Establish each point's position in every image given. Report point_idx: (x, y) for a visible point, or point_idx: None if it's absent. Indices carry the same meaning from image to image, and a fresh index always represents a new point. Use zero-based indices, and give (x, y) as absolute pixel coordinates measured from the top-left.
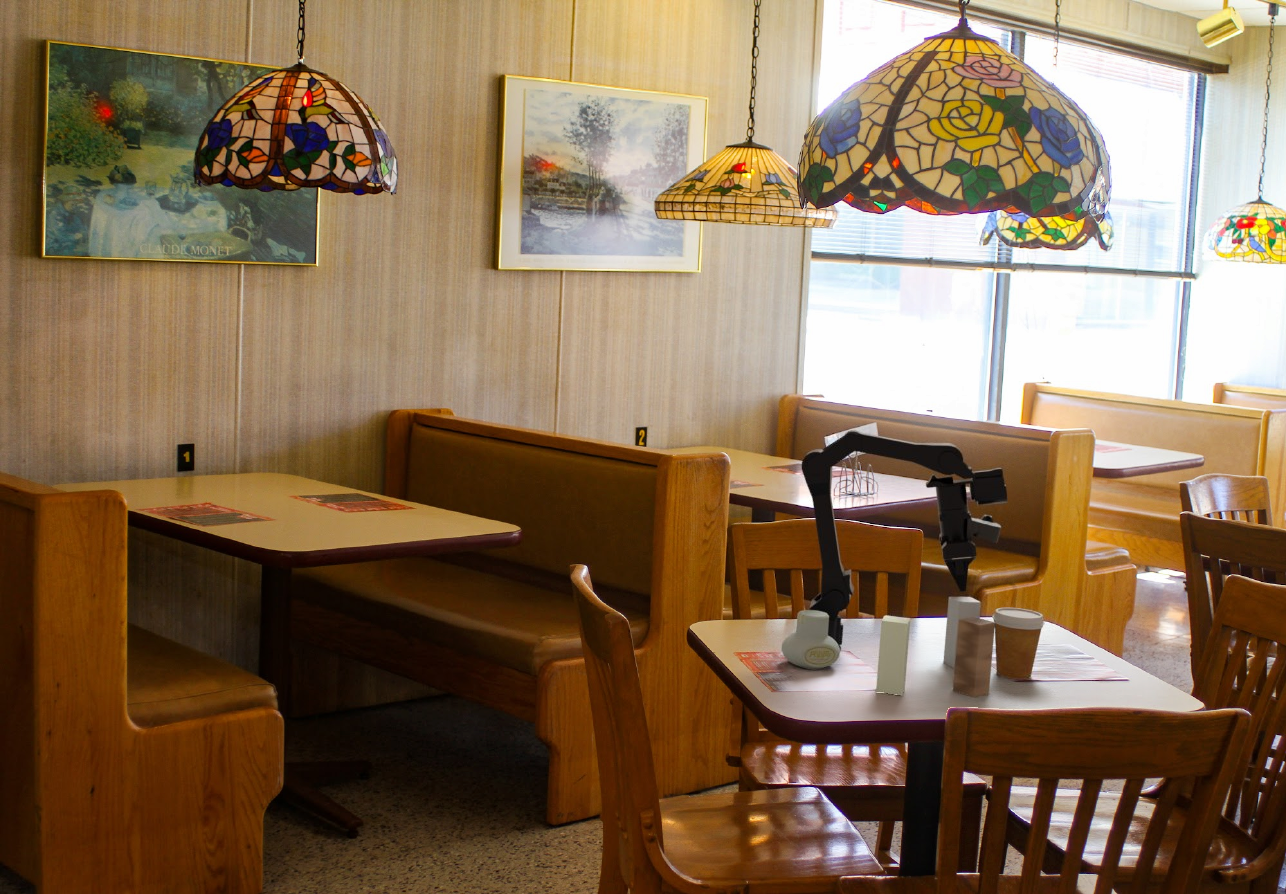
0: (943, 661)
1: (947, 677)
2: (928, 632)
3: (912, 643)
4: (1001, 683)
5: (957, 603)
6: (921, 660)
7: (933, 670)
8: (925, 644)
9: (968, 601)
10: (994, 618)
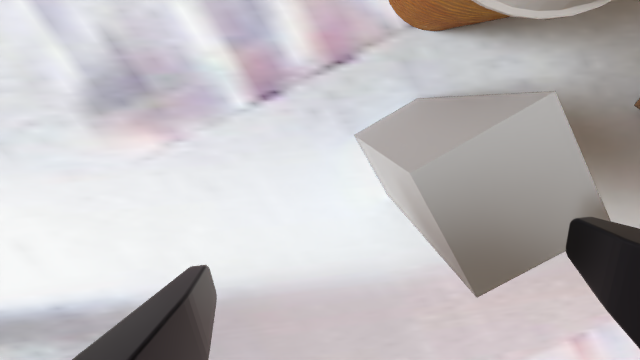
0: (387, 194)
1: None
2: (30, 273)
3: None
4: None
5: None
6: (397, 252)
7: None
8: (198, 263)
9: (569, 173)
10: (602, 3)
